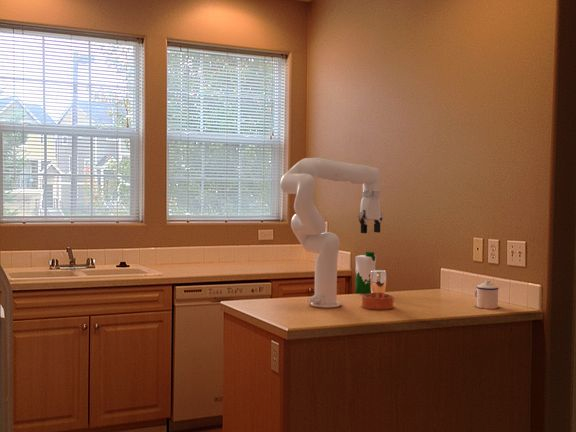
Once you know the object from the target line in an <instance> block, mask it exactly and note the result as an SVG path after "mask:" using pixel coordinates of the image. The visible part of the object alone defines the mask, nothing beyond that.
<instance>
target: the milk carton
mask: <svg viewBox="0 0 576 432" xmlns="http://www.w3.org/2000/svg"><path fill="white" fill-rule="evenodd" d="M354 258H355V294H358V295H359V294H360V295H363V294H370V293H371V289H370V272H371V270H376V262H377V255H375V252H374V251H365V254H361V255H356V256H355V257H354Z"/></svg>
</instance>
